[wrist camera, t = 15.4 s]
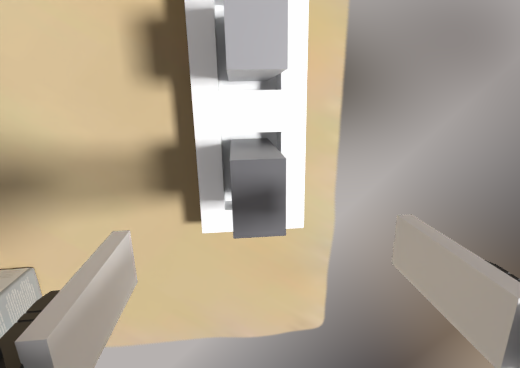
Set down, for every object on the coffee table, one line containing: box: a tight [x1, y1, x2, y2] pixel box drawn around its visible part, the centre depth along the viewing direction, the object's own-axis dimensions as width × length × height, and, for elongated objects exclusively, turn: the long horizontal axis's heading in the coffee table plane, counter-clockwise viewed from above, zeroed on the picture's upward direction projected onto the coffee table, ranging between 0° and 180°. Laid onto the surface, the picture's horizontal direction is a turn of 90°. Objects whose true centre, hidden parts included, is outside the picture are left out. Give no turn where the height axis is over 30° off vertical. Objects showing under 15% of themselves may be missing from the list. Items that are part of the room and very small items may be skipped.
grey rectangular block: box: [230, 138, 286, 238], centre depth 28 cm, size 4×6×12 cm, turn 1°
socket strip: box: [184, 0, 309, 233], centre depth 26 cm, size 11×25×12 cm, turn 1°
